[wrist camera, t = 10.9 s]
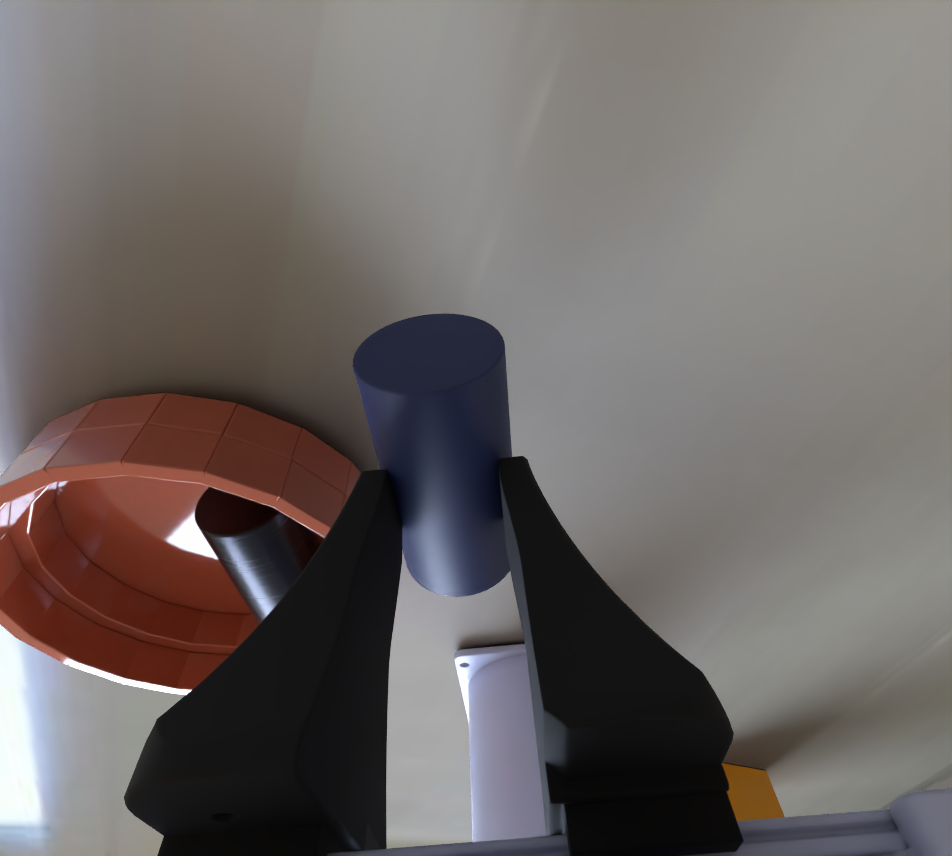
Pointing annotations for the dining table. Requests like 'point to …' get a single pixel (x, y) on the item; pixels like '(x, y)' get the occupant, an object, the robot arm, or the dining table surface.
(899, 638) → the dining table surface
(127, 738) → the dining table surface
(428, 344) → the navy tube
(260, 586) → the black cylinder
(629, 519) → the dining table surface
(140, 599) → the bowl
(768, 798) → the orange juice
